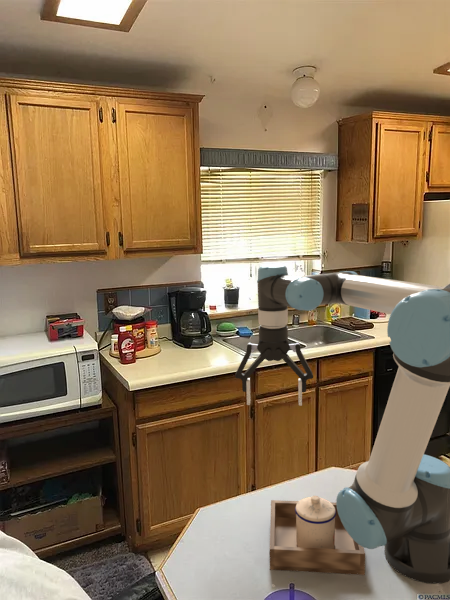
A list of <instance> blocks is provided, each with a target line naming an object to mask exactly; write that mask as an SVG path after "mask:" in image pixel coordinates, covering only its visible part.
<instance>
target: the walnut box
mask: <svg viewBox="0 0 450 600" xmlns="http://www.w3.org/2000/svg"><path fill="white" fill-rule="evenodd" d="M299 501H300V500H281V499H280V500H279V499H275V500H274V499H271V500H270V526H269V527H270V528H269V530H270V531H269V570H270V571H283V572H284V571H285V572H286V571H287V572H288V571H289V572H303V573H304V572H305V573H320V574H323V573H324V574H340V575H359V576H365V574H366V573H365V572H366V551H365V548H364V547H362V546H360V545H359V544H358V543H356V542H355V541H354V540H353V539H352V538H351V536H350V535H349V534H348V532H347V531H346V529H345V528H344V526H343V524H342V522H341V519H340V517H339V515H338V511H337V506H336V502H332V501H331V503H332V504H333V506H334V507H335V510H336V516H335V546H334V549H323V548H303V547H298V545H297V542H296V512H295V507H296V505H297V503H298V502H299Z"/></svg>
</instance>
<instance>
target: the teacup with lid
mask: <svg viewBox="0 0 450 600" xmlns="http://www.w3.org/2000/svg"><path fill="white" fill-rule="evenodd" d="M298 501H299V502H298V503H297V505H296V507H295V512H296V542H297V545H298V547H303V548H323V549H334V546H335V516H336V510H335V507H334V506H333V504H332V503H331V502H332V501H331V502H330V501H329V500H327V499H325V498H322V497H321V496H318V495H312V496H309V497H303V498H302V499H300V500H298Z"/></svg>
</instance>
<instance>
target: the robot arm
mask: <svg viewBox="0 0 450 600" xmlns="http://www.w3.org/2000/svg"><path fill="white" fill-rule="evenodd" d="M288 273H289V272H288V268H287V266H285V265H282V264H266V265H261V266H259V267H258V269H257V280H256V284H257V307H258V310H257V313H258V316H257V317H258V325H259V326H258V343H252V342H251V341H249V342H248V343H247V344H246V345H247V346H246V351H245V353H244V356H243V358H242V360H241V362H240V363H239V365H238V367H237V370H236V372H235V375H234V377H235V378H236V379H240V380H241V381H242V383H241V384H242V385H241V387H242V392H243V393H246V405H247V406H250V405H251V377H250V376H251V375H252V374H253V373H254V371H255V370H256V369H257V368H258V367H259V366H260V365H261V364H262V363H263V362H264V360H266V361H268V362H272V361H276V362H280V361H283V362H285V363H286V364H287V365H288V367H290V369H291V370H292V371H293V372H294V373H295V374H296V375H297V377H299V378H298V380H297V381H298V383H297V384H298V387H297V388H298V406H303V393H306V392H307V381H308V380H312V379H314V374H313V371H312V369H311V367H310V366H309V363H308V362H307V359H306V358H305V355H304V354H303V352H302V350H301V344H300V342H298V341H296V342H295V343H289V327H288V326H287V325H288V323H289V318H288V317H289V315H288V312H289V310H288V309H289V308H292V309H294V310H297V311H306V312H308V311H315V309H316V308H317V307H319V306H323V305H332V304H340V305H346V306H350V307H355V308H359V309H360V308H361V309H365V310H369V311H374V312H378V313H381V314H382V313H383V314H386V315H389V318H388V322H387V333H386V334H387V337H388V338H390V341H389V345H390V348H391V351H392V352H393V354H392V356H393V357H392V358H393V360H394V362H395V363H396V365H397V366H398V368H397V372H396V374H395V378H394V381H393V383H392V387H391V390H390V393H389V396H388V400H387V404H386V406H385V409H384V412H383V415H382V419H381V421H380V425H379V428H378V431H377V433H376V434H377V435H376V438H375V441H374V445H373V447H372V450H371V453H370V456H369V459H368V461H367V460H366V461H365V462H363V463H361V464H360V465H359V467H358V468H357V471H356V473H355V477H354V480H353V483H352V485H350V486H347V487H346V486H345V487H344V488H342V490H340V491H339V492H338V493H337V495H336V500H335V501H336V502H335V503H336V506H337V511H338V515H339V517H340V519H341V522H342V524H343V526H344V528H345V529H346V531H347V532H348V534H349V535H350V536H351V538H352V539H353V540H354V541H355V542H356V543H358V544H359V545H360V546H362V547H364V549H369V550H374V549H377V548H380V547H384V557H385V559H386V560H387V562H388V563H389V565H390V566H391V567H392V568H393V569H394V570H395V571H396V572H398V573H399V574H401V575H403V576H404V577H406V578H409V579H411V580H413V581H416V582H421V583H426V584H442V583H446V582H449V581H450V465H448V464H447V463H446V462H444V461H442V460H441V459H438V458H436V457H434V456H431V455H428V454H425V452H426V450H427V448H428V447H427V446H428V444H429V441H430V438H431V437H432V434H433V430H434V429H435V426H436V423H437V420H438V417H439V415H440V414H441V413H440V412H441V410H442V407H443V406H444V402H445V400H446V398H447V397H446V396H447V394H448V391H449V389H450V282H449V283H447V284H445V285H444V286H439V285H433V284H426V283H418V282H411V281H405V280H404V281H403V280H399V279H398V280H397V279H389V278H382V277H374V276H368V275H367V276H366V275H360V274H358V273H357V272H356V271H351V270H350V271H347V270H346V271H345V270H344V271H343V270H342V271H339V272H330V273H321V274H320V273H319V274H310V275H309V274H308V275H302V276H301V275H299V276H297V275H289V274H288ZM256 350H257V351H258V352H259V353H260V354H259V355H258V356H257V357H256V359H255V360H254V361H253V362H252V364H251V365H250V366H248V367H247V369H246V370H245V372H244V373H243V371H244V369H245V367H246V365H247V363H248V361H249V359H250V357H251V354H252V353H253V352H255V351H256ZM290 350H292V352H293V353H296V356H297V358H298V360H299V362H300V363H301V365H302V368H303V369H304V371H305V373H304V372H303V370H302V369H301V368H300V367H299V366H298V365H297V364H296V363H295V361H293V359H292V358H291V357H290V355H288V352H289V351H290Z"/></svg>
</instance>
